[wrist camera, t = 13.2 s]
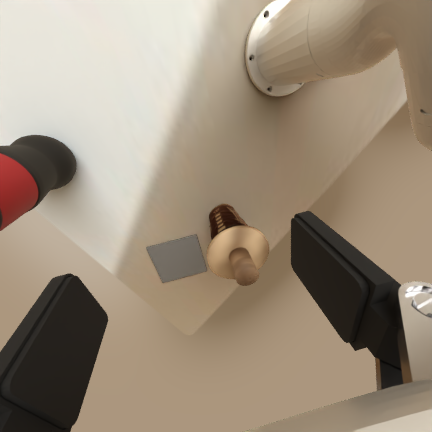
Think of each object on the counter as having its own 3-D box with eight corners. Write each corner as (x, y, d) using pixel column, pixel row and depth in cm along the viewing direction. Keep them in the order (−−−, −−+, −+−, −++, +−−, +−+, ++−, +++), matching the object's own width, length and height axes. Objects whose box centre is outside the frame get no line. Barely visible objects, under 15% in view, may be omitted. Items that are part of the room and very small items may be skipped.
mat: (196, 234, 48) (196, 235, 48) (206, 270, 54) (207, 271, 54) (146, 247, 47) (146, 248, 47) (162, 281, 54) (162, 283, 53)
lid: (265, 218, 33) (281, 239, 28) (268, 266, 39) (282, 291, 34) (200, 235, 33) (205, 259, 28) (213, 281, 38) (218, 308, 33)
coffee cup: (228, 236, 50) (243, 274, 39) (198, 225, 47) (205, 264, 36) (246, 207, 47) (269, 240, 36) (215, 193, 44) (229, 225, 33)
